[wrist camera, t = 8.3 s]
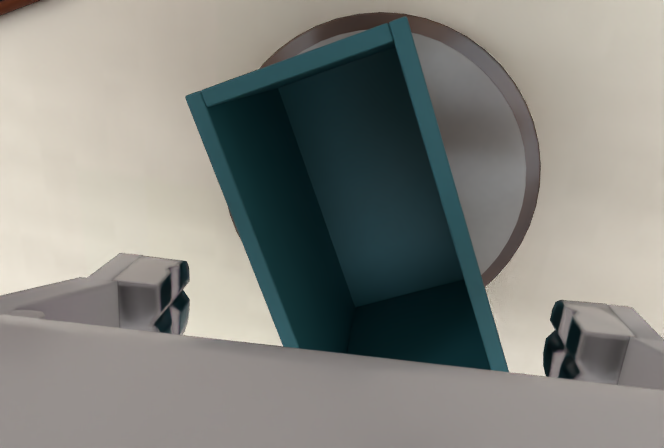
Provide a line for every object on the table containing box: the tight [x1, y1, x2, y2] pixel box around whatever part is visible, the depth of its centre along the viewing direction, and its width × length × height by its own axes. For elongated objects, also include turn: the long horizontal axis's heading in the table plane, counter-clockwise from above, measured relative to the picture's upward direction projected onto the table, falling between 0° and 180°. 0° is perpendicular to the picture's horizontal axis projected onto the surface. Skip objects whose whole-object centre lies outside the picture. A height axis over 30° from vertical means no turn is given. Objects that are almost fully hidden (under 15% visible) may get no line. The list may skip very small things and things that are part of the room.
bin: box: [185, 16, 509, 372], centre depth 21 cm, size 7×12×10 cm, turn 19°
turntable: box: [228, 12, 541, 287], centre depth 27 cm, size 15×15×2 cm
